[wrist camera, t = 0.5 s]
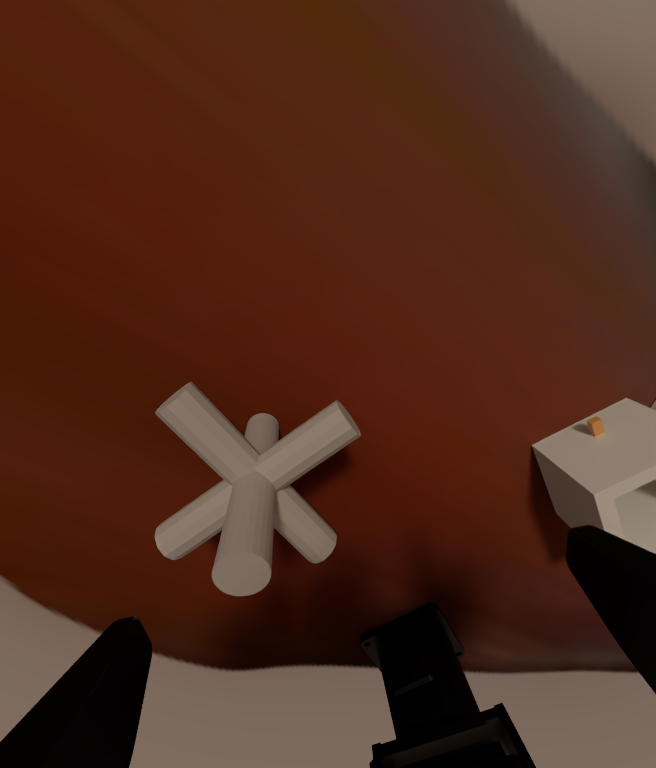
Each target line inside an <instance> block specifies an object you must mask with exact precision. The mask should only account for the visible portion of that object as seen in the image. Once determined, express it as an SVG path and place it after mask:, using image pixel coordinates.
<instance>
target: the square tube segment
mask: <svg viewBox="0 0 656 768" xmlns="http://www.w3.org/2000/svg"><path fill="white" fill-rule="evenodd" d="M532 448H533V450H534V453H535V456H536V459H537V462H538V464H539V467H540V470H541V473H542V475H543V478H544V481H545V484H546V487H547V489H548V492H549V495H550V498H551V501H552V503H553V506H554V509H555V512H556V514H557V515H558V516H559V517H560V518H561V519H562V520H563V521H564V522H565V523H566V524H567V525H568V526H569V527H570V528H573V527H578V526H583V525H592V526H595V527H597V528H600V529H602V530H604V531H606V532H608V533H611V534H613V535H615V536H617V537H619V538H622V539H624V540H626V541H628V542H631V543H633V544H635V545H637V546H639V547H642V548H644V549H646V550H648V551H650V552H653V553H655V554H656V411H655V410H653V409H651V408H648V407H646V406H644V405H642V404H639V403H637V402H635V401H632V400H630V399H628V398H625V399H623V400H621V401H619V402H617V403H615V404H613V405H611V406H609V407H607V408H605V409H603V410H601V411H599V412H597V413H595V414H593V415H591V416H589V417H587V418H585V419H583V420H581V421H579V422H577V423H575V424H573V425H571V426H569V427H567V428H565V429H563V430H561V431H559V432H557V433H555V434H553V435H551V436H549V437H547V438H545V439H543V440H541V441H539V442H537V443H535V444H533V445H532Z"/></svg>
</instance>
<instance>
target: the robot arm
mask: <svg viewBox="0 0 656 768" xmlns="http://www.w3.org/2000/svg"><path fill="white" fill-rule="evenodd" d="M566 561H567V564H568V567H569V569H570V571H571V572H572V574H573V575H574V577H575V578H576V580H577V582H578V583H579V585H580V586H581V588H582V589H583V591H584V592H585V594H586V595H587V597H588V599H589V600H590V602H591V603H592V605H593V606H594V608H595V609H596V611H597V612H598V614H599V616H600V617H601V619H602V620H603V622H604V623H605V625H606V626H607V628H608V629H609V631H610V633H611V634H612V636H613V637H614V639H615V640H616V641H617V643H618V644H619V646H620V647H621V649H622V650H623V651H624V653H625V654H626V655H627V657H628V658H629V660H630V661H631V662H632V664H633V665H634V666H635V667H636V669H637V670H638V671H639V673H640V674H641V675H642V676H643V678H644V679H645V681H646V682H647V683H648V684H649V686H650V687H651V688H652V690H653V691H654V692H655V694H656V554H655V553H653V552H650V551H648V550H646V549H644V548H642V547H639V546H637V545H635V544H633V543H631V542H628V541H626V540H624V539H622V538H619V537H617V536H615V535H613V534H611V533H608V532H606V531H604V530H602V529H600V528H597V527H595V526H592V525H583V526H578V527H573V528H571V529H570V530H569V531H568V538H567V549H566ZM360 643H361V647H362V648H363V649H364V651H365V652H366V653H367V655H368V656H369V657H370V658H371V660H372V661H373V662H374V663H375V665H376V666H377V667H378V668H379V670H380V671H381V672H382V676H383V680H384V685H385V689H386V694H387V698H388V703H389V707H390V712H391V717H392V721H393V726H394V730H395V734H396V740H393V741H390V742H386V743H384V744H381V743H377V744H374V745H372V751H373V760H372V761H371V762H370V768H536V766H535V765H534V763H533V761H532V759H531V757H530V755H529V753H528V751H527V749H526V747H525V745H524V743H523V742H522V740H521V738H520V736H519V734H518V732H517V730H516V728H515V726H514V724H513V723H512V721H511V719H510V717H509V715H508V713H507V711H506V709H505V707H504V705H503V703H500V704H497V705H495V706H494V708H492V709H489V710H485V711H483V712H480V710H479V708H478V706H477V703H476V701H475V698H474V696H473V694H472V691H471V689H470V686H469V684H468V681H467V679H466V677H465V674H464V672H463V669H462V667H461V664H460V662H459V660H458V658H460V657H462V656H463V655H464V654H465V652H464V649H463V647H462V645H461V643H460V642H459V640H458V639H457V637H456V635H455V634H454V632H453V630H452V629H451V627H450V625H449V624H448V622H447V621H446V619H445V617H444V616H443V614H442V612H441V611H440V609H439V608H438V606H437V605H436V604H429V605H427V606H425V607H423V608H421V609H418V610H416V611H414V612H412V613H410V614H408V615H406V616H404V617H401V618H399V619H397V620H395V621H393V622H391V623H389V624H387V625H384V626H382V627H380V628H378V629H376V630H374V631H372V632H370V633H368V634H365V635H363V636H362V637H361V638H360ZM151 658H152V644H151V641H150V639H149V637H148V635H147V633H146V630H145V628H144V626H143V624H142V622H141V620H140V618H138V617H137V616H132V617H128V618H123V619H118V620H116V621H115V622H113V623H112V624H111V625H110V626H109V627H108V628H107V629H106V630H105V631H104V632H103V633H102V634H101V636H100V637H99V638H98V639H97V640H96V641H95V642H94V643H93V644H92V645H91V646H90V647H89V648H88V649H87V650H86V651H85V653H84V654H83V655H82V656H81V657H80V658H79V659H78V660H77V661H76V662H75V663H74V664H73V665H72V666H71V667H70V668H69V670H68V671H67V672H66V673H65V674H64V675H63V676H62V677H61V678H60V679H59V680H58V681H57V682H56V683H55V684H54V685H53V687H52V688H51V689H50V690H49V691H48V692H47V693H46V694H45V695H44V696H43V697H42V698H41V699H40V700H39V702H38V703H37V704H36V705H35V706H34V707H33V708H32V709H31V710H30V711H29V712H28V713H27V714H26V715H25V716H24V717H23V718H22V720H21V721H20V722H19V723H18V724H17V725H16V726H15V727H14V728H13V729H12V730H11V731H10V732H9V733H8V734H7V736H5V738H4V739H3V740H2V741H1V742H0V768H129V765H130V761H131V757H132V754H133V749H134V744H135V740H136V734H137V730H138V725H139V720H140V715H141V709H142V704H143V699H144V694H145V689H146V683H147V678H148V673H149V668H150V663H151Z"/></svg>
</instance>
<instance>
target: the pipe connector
mask: <svg viewBox="0 0 656 768" xmlns="http://www.w3.org/2000/svg"><path fill="white" fill-rule="evenodd" d="M155 414H156V415H157V416H158V417H159V418H160V419H161V420H162V421H163V422H164V423H165V424H166V425H167V426H168V427H170V428H171V429H172V430H173V431H174V432H175V433H176V434H177V435H178V436H179V437H180V438H181V439H182V440H183V441H184V442H185V443H186V444H187V445H188V446H189V447H190V448H191V449H192V450H194V451H195V452H196V453H197V454H198V455H199V456H200V457H201V458H202V459H203V460H204V461H205V462H206V463H207V464H208V465H209V466H210V467H211V468H212V469H213V470H214V471H215V472H216V473H218V474H219V475H220V476H221V477H222V478H223V479H224V480H222V481H221V482H219V483H218V484H217V485H215V486H214V487H212V488H211V489H209V490H208V491H207V492H205V493H204V494H202V495H201V496H199V497H198V498H197V499H195V500H194V501H192V502H191V503H189V504H188V505H187V506H185V507H184V508H182V509H181V510H180V511H178V512H177V513H175V514H174V515H172V516H171V517H170V518H168V519H167V520H165V521H164V522H162V523H161V524H160V525H159V526H158V527H157V528H156V533H155V540H156V544H157V547H158V549H159V550H160V551H161V553H162V554H163V555H164V556H165V557H167V558H169V559H172V560H176V559H180V558H182V557H183V556H185V555H186V554H188V553H189V552H191V551H192V550H194V549H195V548H197V547H198V546H200V545H201V544H203V543H204V542H205V541H207V540H208V539H210V538H211V537H213V536H214V535H216V534H217V533H219V532H220V531H222V533H221V537H220V542H219V546H218V550H217V554H216V558H215V563H214V567H213V571H212V580H213V582H214V584H215V585H216V586H217V587H218V588H219V590H221V591H223V592H224V593H227V594H230V595H234V596H248V595H252V594H255V593H257V592H259V591H261V590H262V589H263V588H264V587H266V585H267V584H268V583H269V581H270V578H271V568H272V550H273V531H274V528H275V529H276V530H277V531H278V532H279V533H280V534H281V535H282V536H283V537H284V538H285V539H286V540H287V541H288V542H290V543H291V544H292V545H293V546H294V547H295V548H296V549H297V550H298V551H299V552H300V553H301V554H302V555H303V556H304V557H305V558H306V559H307V560H308V561H309V562H312V563H315V564H316V563H319V562H321V561H324V560H325V559H326V558H327V557H328V556H329V555H330V554H331V553H332V551H333V549H334V547H335V545H336V539H337V536H336V534H335V532H334V530H333V529H332V528H331V527H330V526H329V525H328V524H327V523H326V522H325V521H324V520H323V519H322V518H321V517H320V516H319V515H318V514H317V513H316V512H315V511H314V509H313V508H312V507H311V506H310V505H309V504H308V503H307V502H306V501H305V500H304V499H303V498H302V497H301V496H300V495H299V494H298V493H297V492H296V491H295V490H294V489H293V487H292V486H291V485H290V484H291V483H292V482H294V481H295V480H297V479H298V478H300V477H301V476H302V475H304V474H305V473H307V472H308V471H310V470H311V469H313V468H314V467H316V466H317V465H319V464H320V463H322V462H323V461H324V460H326V459H327V458H329V457H330V456H332V455H333V454H335V453H336V452H338V451H339V450H341V449H342V448H344V447H345V446H347V445H348V444H349V443H351V442H352V441H354V440H355V439H357V438H358V437H360V436H361V434H360V431H359V429H358V427H357V425H356V424H355V422H354V420H353V419H352V417H351V416H350V415H349V413H348V412H347V410H346V409H345V408H344V407H343V406H342V404H341V403H340V402H338V401H337V400H336V401H335V402H333V403H332V404H330V405H329V406H327V407H326V408H325V409H323V410H322V411H320V412H319V413H318V414H316V415H315V416H313V417H312V418H310V419H309V420H308V421H306V422H305V423H303V424H302V425H300V426H299V427H298V428H296V429H295V430H293V431H292V432H290V433H289V434H288V435H286V436H285V437H283V438H282V439H281V440H279V441H278V439H279V424H278V421H277V420H276V419H275V418H274V417H273V416H271V415H269V414H266V413H260V414H256V415H254V416H253V417H252V418H251V419H250V420H249V421H248V424H247V428H246V432H245V437H244V436H243V435H242V434H241V433H240V432H239V431H238V430H237V429H236V428H235V427H234V426H233V425H232V424H231V423H230V421H229V420H228V419H227V418H226V417H225V416H224V415H223V414H222V413H221V412H220V411H219V410H218V409H217V408H216V407H215V406H214V405H213V404H212V403H211V402H210V401H209V399H208V398H207V397H206V396H205V395H204V394H203V393H202V392H201V391H200V390H199V389H198V388H197V387H196V386H195V385H194V384H193V383H192V382H190V383H188V384H187V385H185V386H184V387H182V388H181V389H180V390H178V391H177V392H176V393H175V394H173V395H172V396H171V397H170V398H169V399H168V400H166V401H165V402H164V403H163V404H162V405H161V406H160V407H159V408H158V409H157V410H156V412H155Z"/></svg>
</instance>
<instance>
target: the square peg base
mask: <svg viewBox="0 0 656 768" xmlns="http://www.w3.org/2000/svg"><path fill="white" fill-rule="evenodd" d="M651 409H653V410H655V411H656V400H655V402H654V403H653V405H652V406H651Z"/></svg>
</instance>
